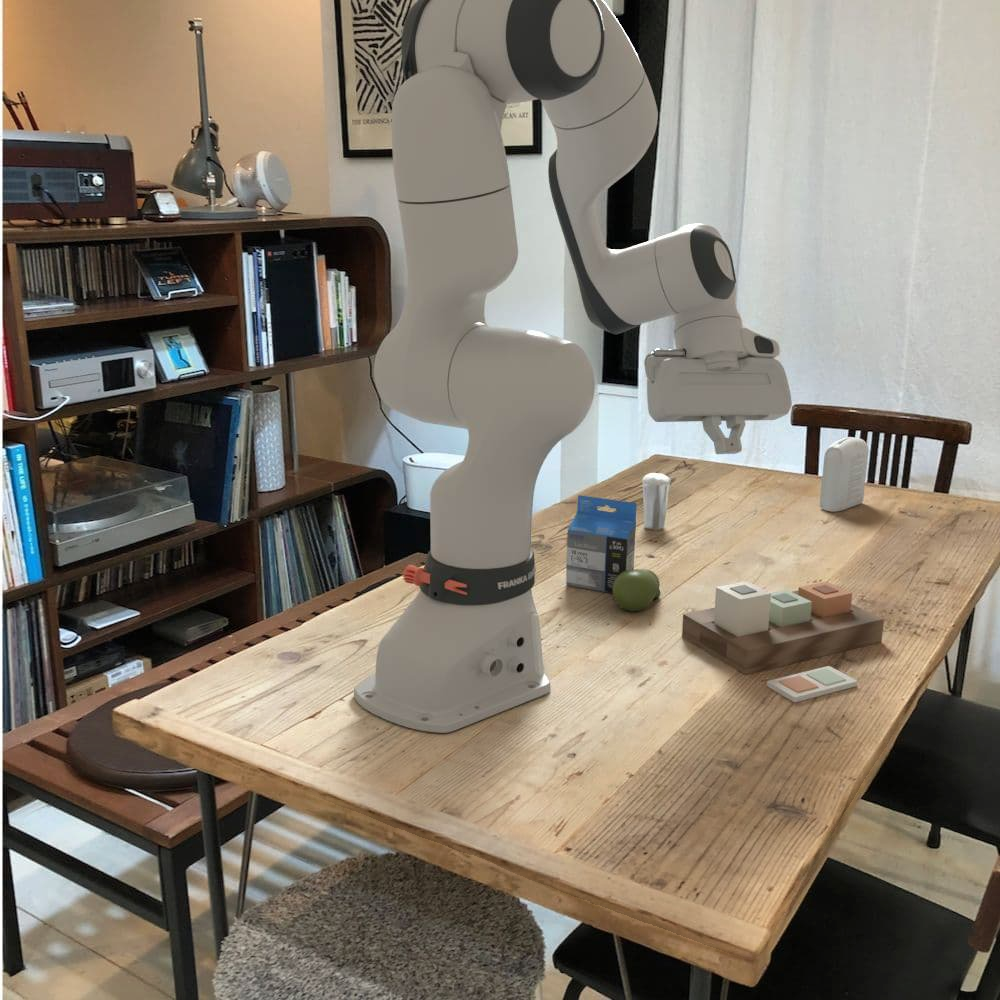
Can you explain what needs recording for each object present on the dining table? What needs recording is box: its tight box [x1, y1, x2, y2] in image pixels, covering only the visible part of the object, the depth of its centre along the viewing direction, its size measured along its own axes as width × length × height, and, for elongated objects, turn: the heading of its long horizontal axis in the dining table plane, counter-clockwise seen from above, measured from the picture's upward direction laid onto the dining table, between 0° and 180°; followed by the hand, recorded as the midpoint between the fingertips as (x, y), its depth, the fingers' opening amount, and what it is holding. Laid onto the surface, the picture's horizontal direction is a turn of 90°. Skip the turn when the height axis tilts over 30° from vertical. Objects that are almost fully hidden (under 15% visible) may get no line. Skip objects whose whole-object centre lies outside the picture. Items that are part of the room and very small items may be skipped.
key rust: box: [797, 581, 853, 618], centre depth 128 cm, size 4×4×5 cm
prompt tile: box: [766, 665, 858, 703], centre depth 114 cm, size 9×4×1 cm, turn 116°
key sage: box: [769, 589, 812, 627], centre depth 125 cm, size 4×4×5 cm
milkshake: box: [642, 471, 675, 531], centre depth 168 cm, size 5×5×10 cm
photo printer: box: [819, 436, 870, 513], centre depth 181 cm, size 10×4×12 cm, turn 134°
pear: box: [612, 568, 661, 612], centre depth 137 cm, size 6×5×10 cm
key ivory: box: [714, 581, 772, 637], centre depth 122 cm, size 4×4×5 cm
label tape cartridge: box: [565, 494, 637, 594], centre depth 142 cm, size 9×4×12 cm, turn 65°
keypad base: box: [681, 590, 885, 676], centre depth 126 cm, size 21×12×3 cm, turn 116°
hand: (729, 453), depth 131 cm, fingers closed
